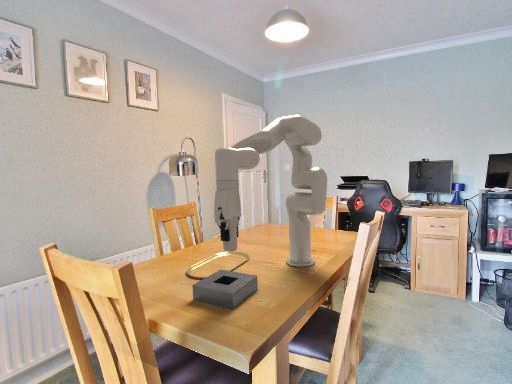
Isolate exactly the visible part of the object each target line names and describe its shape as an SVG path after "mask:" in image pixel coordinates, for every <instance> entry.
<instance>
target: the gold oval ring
mask: <svg viewBox="0 0 512 384" xmlns="http://www.w3.org/2000/svg"><path fill="white" fill-rule="evenodd" d="M231 255H232V256H233V255H234V256H241V257H244V258H245V260H243V261H242V262H240V263H239V264H237V265H236V266H234V267H232V268H231V269H229V270H228V271H233V270H235V269H237V268H239V267H240V266H241V265H242V264H243V265H244V264H245V263H246V262H247V261H249V259H250V255H249V254H248V253H246V252H242V251H233V252H226V251H224V252H219V253H216V254H214V255H211V256H209V257H207V258H205V259H203V260H201V261H199V262H197V263H195V264H193V265H191V266H189V267H188V268H187V269H186V273H187V275H188V276H190V277H191V278H194V279H197V280H198V279H199V280H200V279H201V280H203V279H204V278H206V277H207V276H198V275H197V276H196V275H193V274H192V272H193V271H194V270H195V269H197V268H200V267H201V266H203V265H206V264H207V263H210V262H211V261H213V260H216V259H217V258H220V257H223V256H224V257H225V256H231ZM212 259H213V260H212Z"/></svg>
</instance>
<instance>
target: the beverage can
mask: <svg viewBox="0 0 512 384" xmlns="http://www.w3.org/2000/svg"><path fill="white" fill-rule="evenodd" d="M235 216H236V215H235ZM235 216H233V218H232V219H231V220H229V223H228V229H229V235H230V241H228V242H227V241H222V245H223V246H222V247H223V249H222V250H223V251H224V252H237V250H238V238H237V223H236V217H235ZM223 220H225V219H224V218H223ZM223 223H224V224H225V222H223Z"/></svg>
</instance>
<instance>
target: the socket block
mask: <svg viewBox="0 0 512 384" xmlns="http://www.w3.org/2000/svg"><path fill="white" fill-rule="evenodd" d="M205 277H206V278H204V279H201V280H199V281H197V282H196V283H194V284H192V300H193V301H198V302H202V303H206V304H209V305H213V306H217V307H218V306H219V307H223V308H226V309H230V310H234V309H235V308H236V307H238V306H239V305H241V304H242V303H243V302H245V300H247V299H248V298H249V297H250V296H251V295H253V294H254V293H255V292H256V291H258V290H259V285H258V284H259V283H258V280H259V279H258V275H256V274H250V273H245V272H238V271H233V270H232V271H229V270H226V269H221V268H220V269H219V270H217V271H215V272H213V273H211V274H210V275H208V276H205Z"/></svg>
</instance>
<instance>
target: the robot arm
mask: <svg viewBox="0 0 512 384" xmlns="http://www.w3.org/2000/svg"><path fill="white" fill-rule="evenodd" d="M321 140H322V130H321V128H320V126H318V125H317V124H316V123H315V122H313V121H312V120H310V119H308V118H306V117H305V116H302V115H299V114H294V115H288V116H281V117H278V118H276V119H274V120H273V121H272V122H270V123H269V124H268V125H266V126H265V127H264V128H261V130H260V131H258V132H255V133H254V134H251V135H249V136H248V137H245V138H244V139H241V140H239V141H237V142H236V143H234V144H233V145H232V146H230V147H225V148H224V147H222V148H217V149H216V150H215V152H214V163H215V164H214V165H215V186H216V188H215V189H216V190H215V192H214V200H213V201H214V203H213V204H214V207H213V210H214V211H213V217H214V223H215V224H216V225H217V226H218V229H219V231H220V241H221V242H223V241H227V242H228V241H230V235H229V229H228V223H229V220H231V219H232V218H233V216H235V215H236V216H235V217H236V223H237V239H238V238H239V237H240V236H239V235H240V234H239V225H240V220H241V219H240V218H241V217H242V206H241V205H242V203H241V195H240V189H239V188H240V181H239V171H245V170H246V171H247V170H249V171H250V170H253V169H255V168H256V167H257V166H258V165H259V164H260V155H262V154H266V153H268V152H271V151H272V150H274V149H275V148H276V147H278V146H279V145H280V144H281V143H283V141H284V142H285V144H286V146H287V147H288V149H289V151H290V153H291V155H292V166H291V167H292V168H291V178H290V179H291V180H290V181H291V186H292V187H293V188H294V189H297V190H309V191H310V190H311V192H307V191H306V192H300V191H298V192H297V191H296V192H291V193H290V194H288V195H287V197H286V199H285V206H286V211H287V215H288V216H287V218H288V234H289V235H288V241H289V244H288V245H289V257H287V258H286V260H285V261H286V264H288V265H290V266H292V267H300V268H303V267H311V266H312V265H314V264H315V261H316V259H314V258H313V257H312V246H311V245H312V243H311V242H312V239H311V237H312V236H311V235H312V234H311V222H310V219H309V216H321V215H322V214H323V213H324V211H325V209H326V203H327V193H328V192H327V190H328V176H327V175H328V174H327V173H326V170H325V169H323V167H322V168H321V167H313V155H312V153H311V151H310V150H309V148H308V147H310V146H315V145H318V144H319V143H320V142H321ZM307 146H308V147H307ZM223 218H224V219H225V220H223ZM223 222H225V224H224V223H223Z"/></svg>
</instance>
